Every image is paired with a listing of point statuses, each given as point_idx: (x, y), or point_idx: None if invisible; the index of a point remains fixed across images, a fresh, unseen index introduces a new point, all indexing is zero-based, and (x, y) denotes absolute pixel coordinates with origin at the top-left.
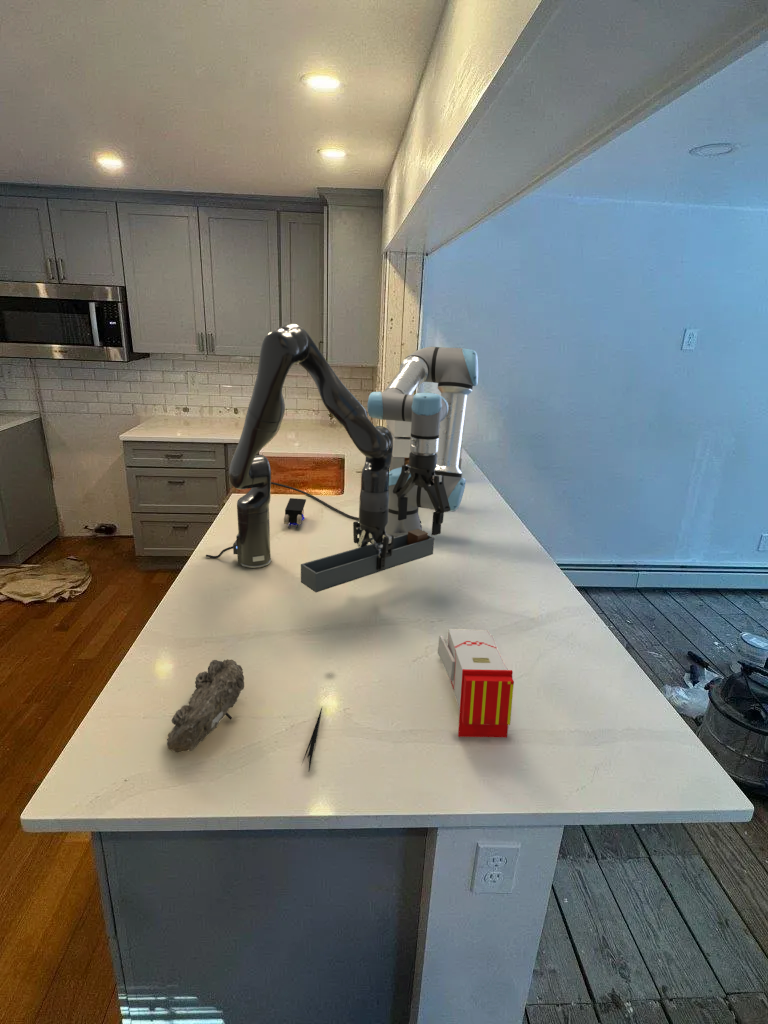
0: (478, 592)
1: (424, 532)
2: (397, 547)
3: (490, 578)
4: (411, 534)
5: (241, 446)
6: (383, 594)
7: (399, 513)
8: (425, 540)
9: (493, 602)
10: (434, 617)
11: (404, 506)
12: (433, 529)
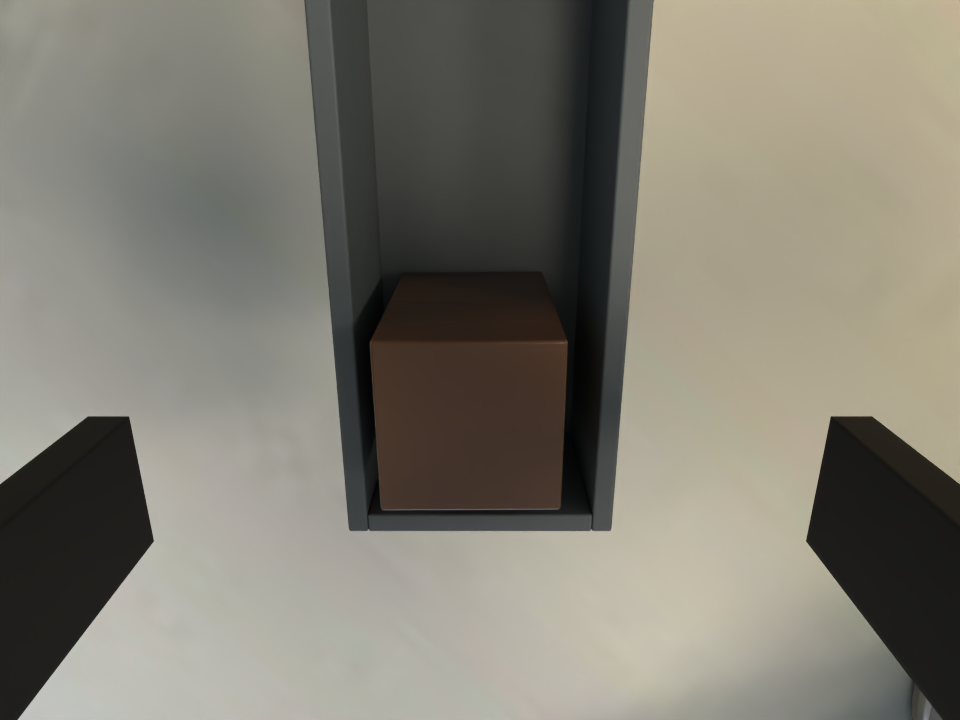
0: (182, 490)
1: (416, 487)
2: (591, 179)
3: (278, 647)
4: (493, 334)
5: None
6: None
7: (912, 475)
8: (343, 407)
9: None
10: (45, 44)
11: (953, 648)
12: (39, 462)
